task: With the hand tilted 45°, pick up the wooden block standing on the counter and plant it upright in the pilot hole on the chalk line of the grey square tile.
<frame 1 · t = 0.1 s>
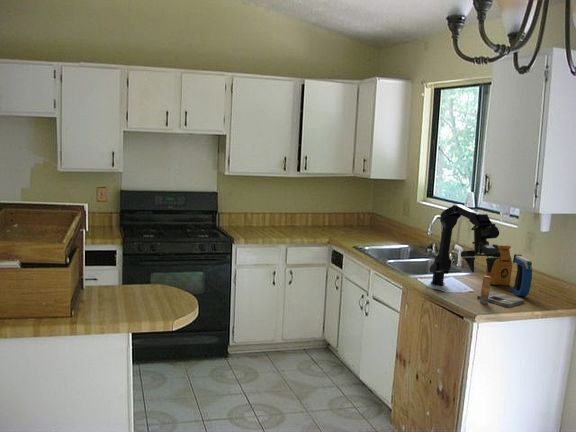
hand: (481, 272, 277), 15 cm above the worktop, tool pointing down, fingers open, 9 cm apart
wooden block: (483, 302, 283), on the worktop
coffee package: (497, 284, 324), on the worktop
grey square tile: (496, 301, 287), on the worktop
blue curved piece: (517, 294, 305), on the worktop
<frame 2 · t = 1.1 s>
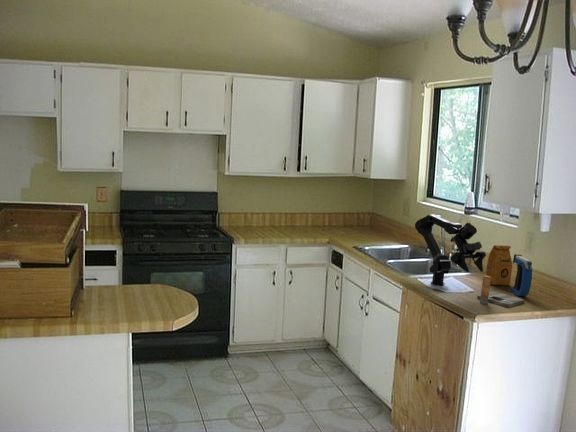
hand: (475, 271, 288), 13 cm above the worktop, tool tilted 45°, fingers open, 9 cm apart
nothing on the worktop moved.
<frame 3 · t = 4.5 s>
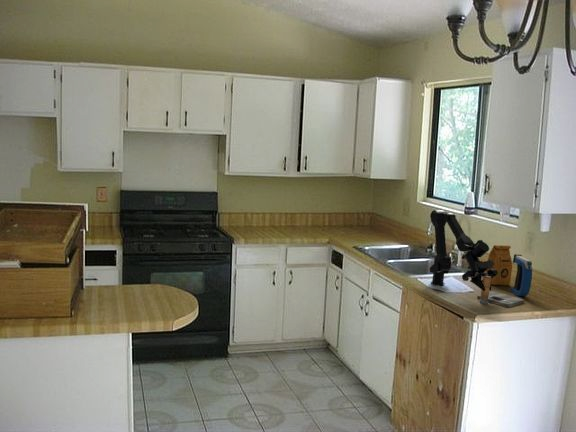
hand: (487, 290, 280), 7 cm above the worktop, tool tilted 45°, fingers closed on wooden block, 4 cm apart
wooden block: (483, 302, 283), on the worktop, touching gripper
everything else where it was.
when the fingers open (7 cm above the worktop, at t = 8.3 s): wooden block stays where it is, resting in grey square tile.
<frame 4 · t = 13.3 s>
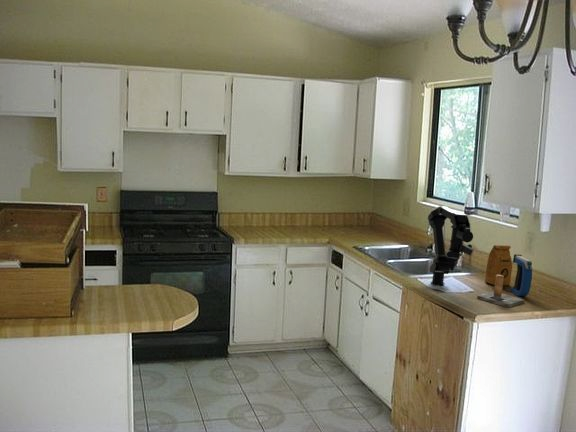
hand: (453, 268, 296), 12 cm above the worktop, tool pointing down, fingers open, 9 cm apart
wooden block: (496, 301, 287), resting in grey square tile
everything else where it was.
at the end: wooden block 0.0 cm off-centre on the grey square tile, point 0.0 cm above the grey square tile's base; wooden block tilted 0°; the gripper is holding nothing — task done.
